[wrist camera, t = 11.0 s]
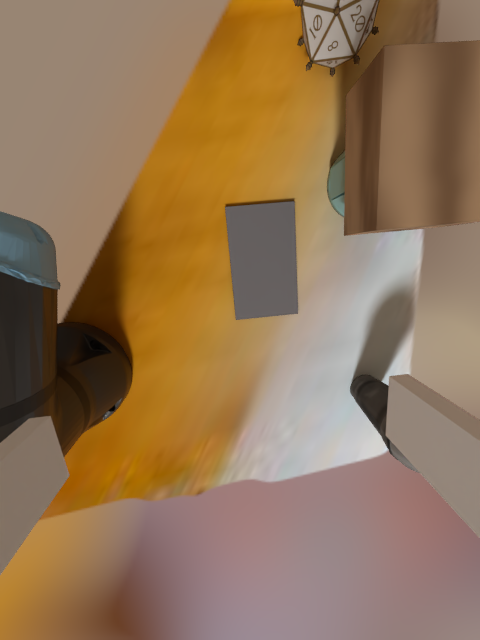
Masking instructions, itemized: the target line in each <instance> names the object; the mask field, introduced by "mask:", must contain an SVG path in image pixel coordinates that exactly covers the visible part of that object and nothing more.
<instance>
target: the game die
mask: <svg viewBox="0 0 480 640" xmlns="http://www.w3.org/2000/svg"><path fill="white" fill-rule="evenodd" d="M293 1H294V3H295V6H301V14H302V29H303V39H302V38H301V39H299V42H298V44H297V45H300V46H301V45H303V43H304V44H305V47H306V50H307V53H308V56H309V59H310V62H308V63H307V65H306V71H307V70H309V69H310V68H311V67H312V63H315V64H318V65H322V66H325V67H329V68H331V71H330V74H331V76H332V77H333V75H334V74H335V69H334V68H335V67H337V66H339V65H340V64H342V63H344V62H346V61H348V60H350V59H352V58H354V62H355V63H354V64H359V60H360V58H359V56H357V53H358V52H359V50H360V48H361V47H362V45H363V44H364V42H365V41H366V39H367V37H368V36H369V34H370V33H371V32H372V34H374V35H375V34H376V33H378V32H379V31H378V27H376V26H375V27H373V25H374V21H375V16H376V12H377V8H378V3H379V0H293Z"/></svg>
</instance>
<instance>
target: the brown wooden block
mask: <svg viewBox="0 0 480 640" xmlns="http://www.w3.org/2000/svg"><path fill="white" fill-rule="evenodd" d="M474 222H480V40H477V41H461V42H460V41H459V42H441V43H423V44H405V45H386V46H384V47H383V48H382V50H381V51H380V52H379V53H378V55H377V56H376V57H375V59H374V60H373V61H372V63H371V64H370V65H369V66H368V68H367V69H366V70H365V72H364V73H363V74H362V75H361V77H360V78H359V79H358V81H357V82H356V83H355V85H354V86H353V87H352V88H351V90H350V91H349V92H348V94H347V95H346V137H345V208H344V236H346V235H357V234H368V233H379V232H390V231H401V230H413V229H424V228H435V227H444V226H451V225H459V224H465V223H474Z"/></svg>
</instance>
